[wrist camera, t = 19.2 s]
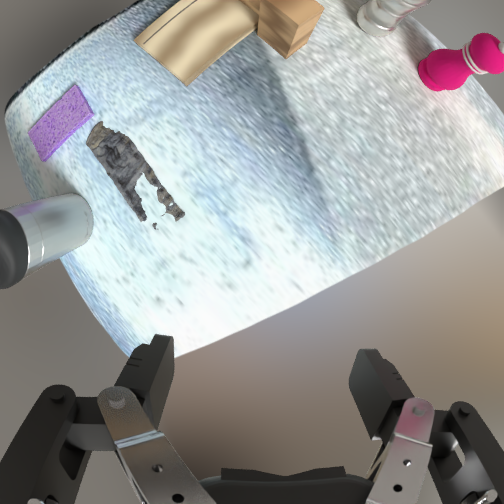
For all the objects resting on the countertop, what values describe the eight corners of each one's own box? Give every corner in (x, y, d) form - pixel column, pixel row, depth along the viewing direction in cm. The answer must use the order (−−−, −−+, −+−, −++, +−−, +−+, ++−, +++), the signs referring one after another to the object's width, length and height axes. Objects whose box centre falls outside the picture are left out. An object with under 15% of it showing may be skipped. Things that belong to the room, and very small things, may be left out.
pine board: (300, -1, 34) (302, -8, 32) (186, 86, 38) (183, 82, 36) (248, -37, 31) (248, -44, 29) (138, 45, 36) (133, 40, 33)
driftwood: (84, 138, 40) (78, 137, 38) (114, 110, 39) (109, 108, 37) (153, 238, 45) (149, 242, 43) (187, 213, 44) (184, 215, 42)
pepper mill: (408, 70, 37) (483, 34, 18) (426, 49, 36) (497, 14, 16) (436, 101, 38) (517, 83, 19) (452, 80, 37) (528, 58, 18)
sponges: (96, 115, 39) (90, 113, 37) (46, 162, 41) (40, 162, 39) (80, 85, 37) (74, 83, 36) (32, 133, 39) (26, 132, 37)
